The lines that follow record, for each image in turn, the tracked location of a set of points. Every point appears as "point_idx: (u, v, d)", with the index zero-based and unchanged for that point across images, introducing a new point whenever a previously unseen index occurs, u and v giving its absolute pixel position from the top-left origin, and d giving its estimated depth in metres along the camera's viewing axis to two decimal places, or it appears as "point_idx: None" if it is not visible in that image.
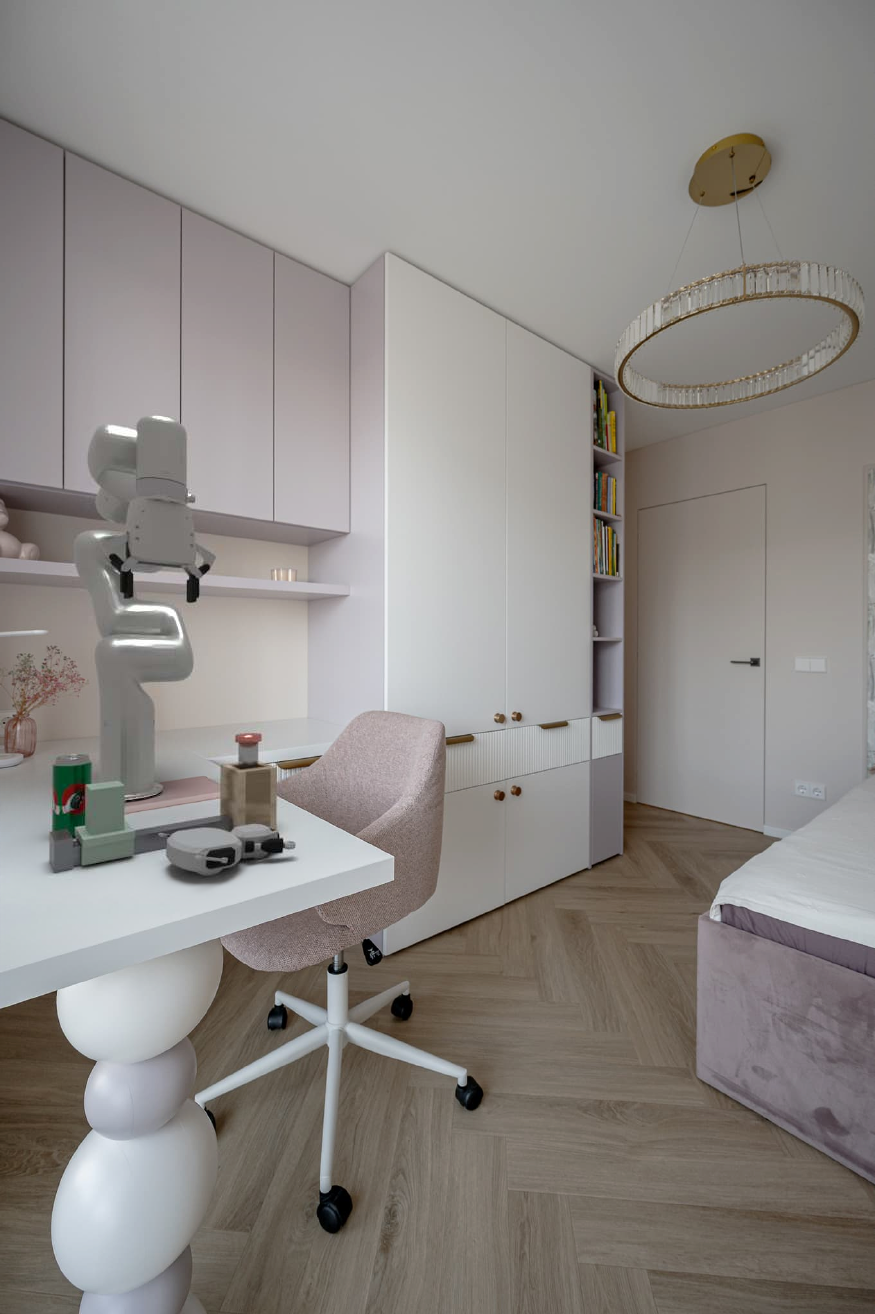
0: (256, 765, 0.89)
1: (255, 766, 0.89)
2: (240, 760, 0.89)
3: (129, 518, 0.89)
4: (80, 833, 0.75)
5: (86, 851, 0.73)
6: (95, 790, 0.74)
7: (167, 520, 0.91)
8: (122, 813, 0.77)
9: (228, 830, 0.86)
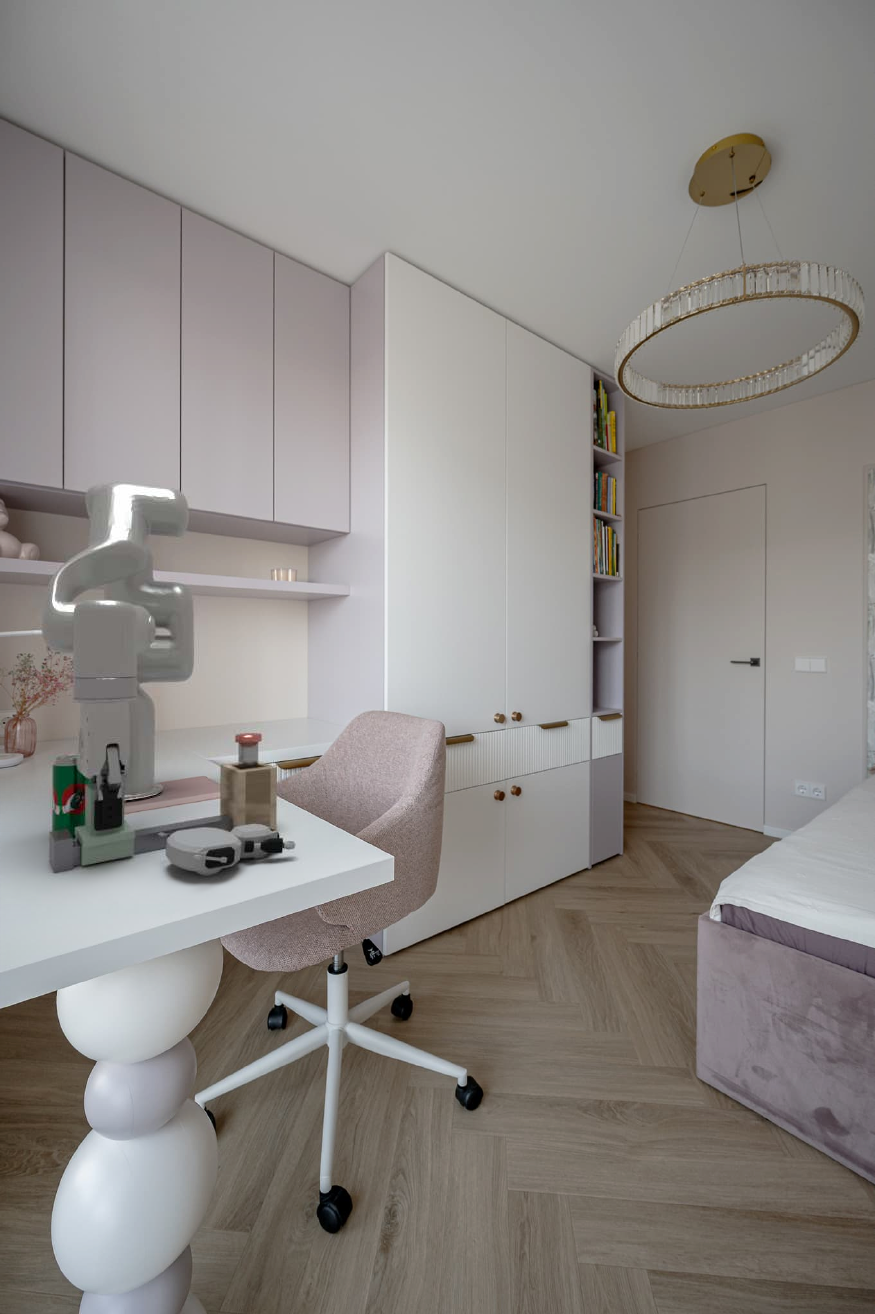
0: (256, 765, 0.89)
1: (255, 766, 0.89)
2: (240, 760, 0.89)
3: (117, 727, 0.74)
4: (80, 833, 0.75)
5: (86, 851, 0.73)
6: (95, 790, 0.74)
7: None
8: (122, 813, 0.77)
9: (228, 830, 0.86)
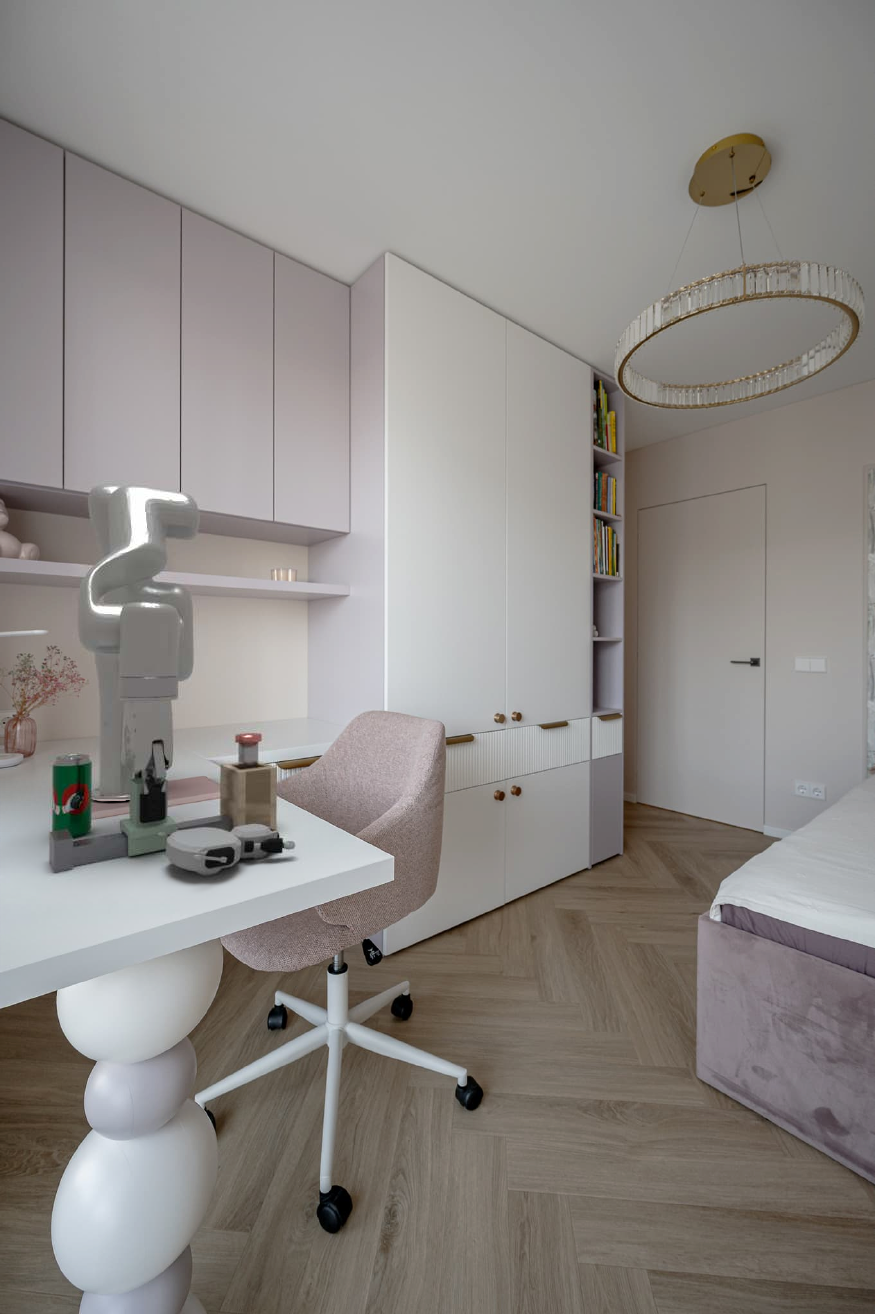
0: (256, 765, 0.89)
1: (255, 766, 0.89)
2: (240, 760, 0.89)
3: (161, 724, 0.77)
4: (126, 825, 0.78)
5: (133, 842, 0.77)
6: (141, 784, 0.78)
7: None
8: None
9: (228, 830, 0.86)
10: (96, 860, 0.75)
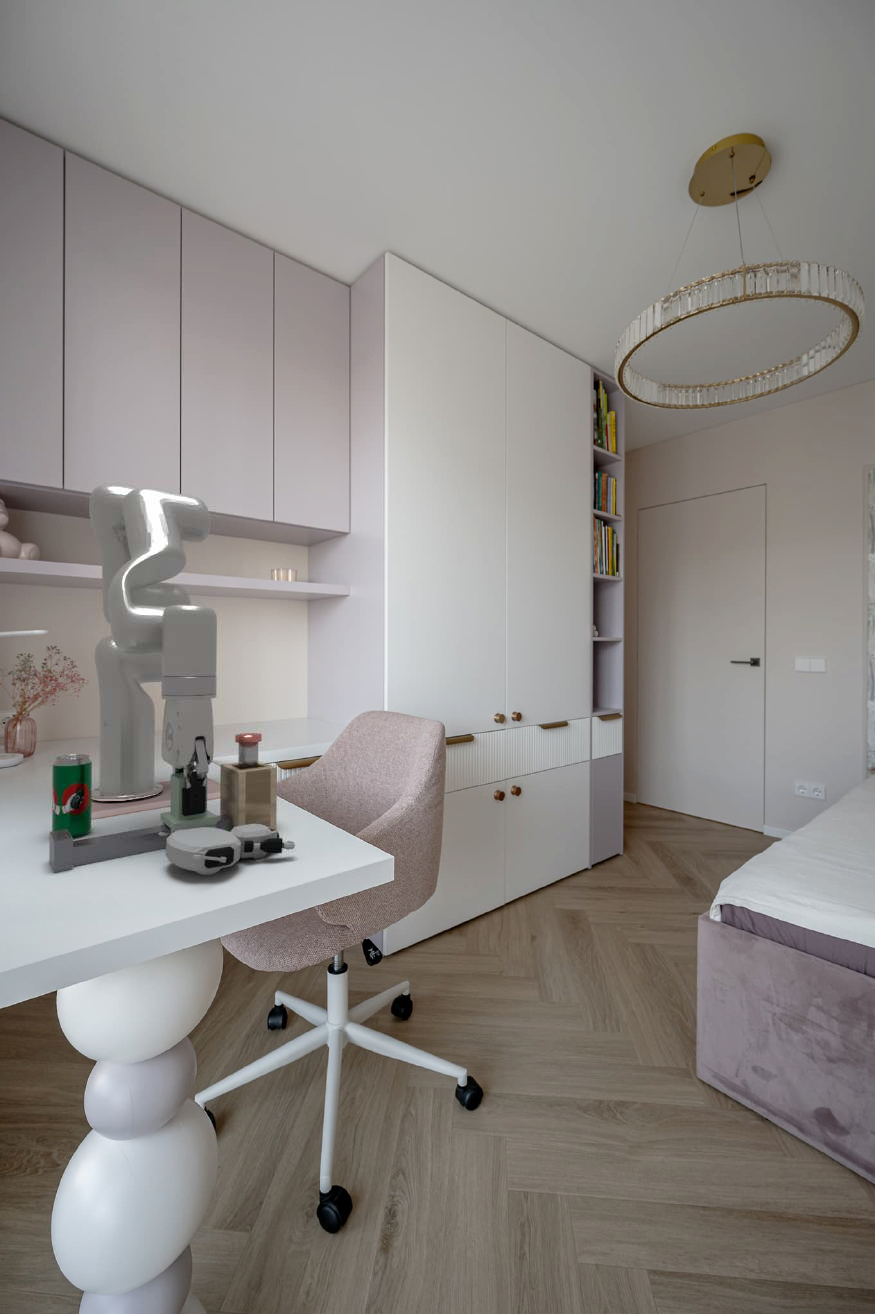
0: (256, 765, 0.89)
1: (255, 766, 0.89)
2: (240, 760, 0.89)
3: (203, 721, 0.81)
4: (168, 818, 0.82)
5: None
6: (182, 779, 0.82)
7: None
8: None
9: (228, 830, 0.86)
10: (96, 860, 0.75)
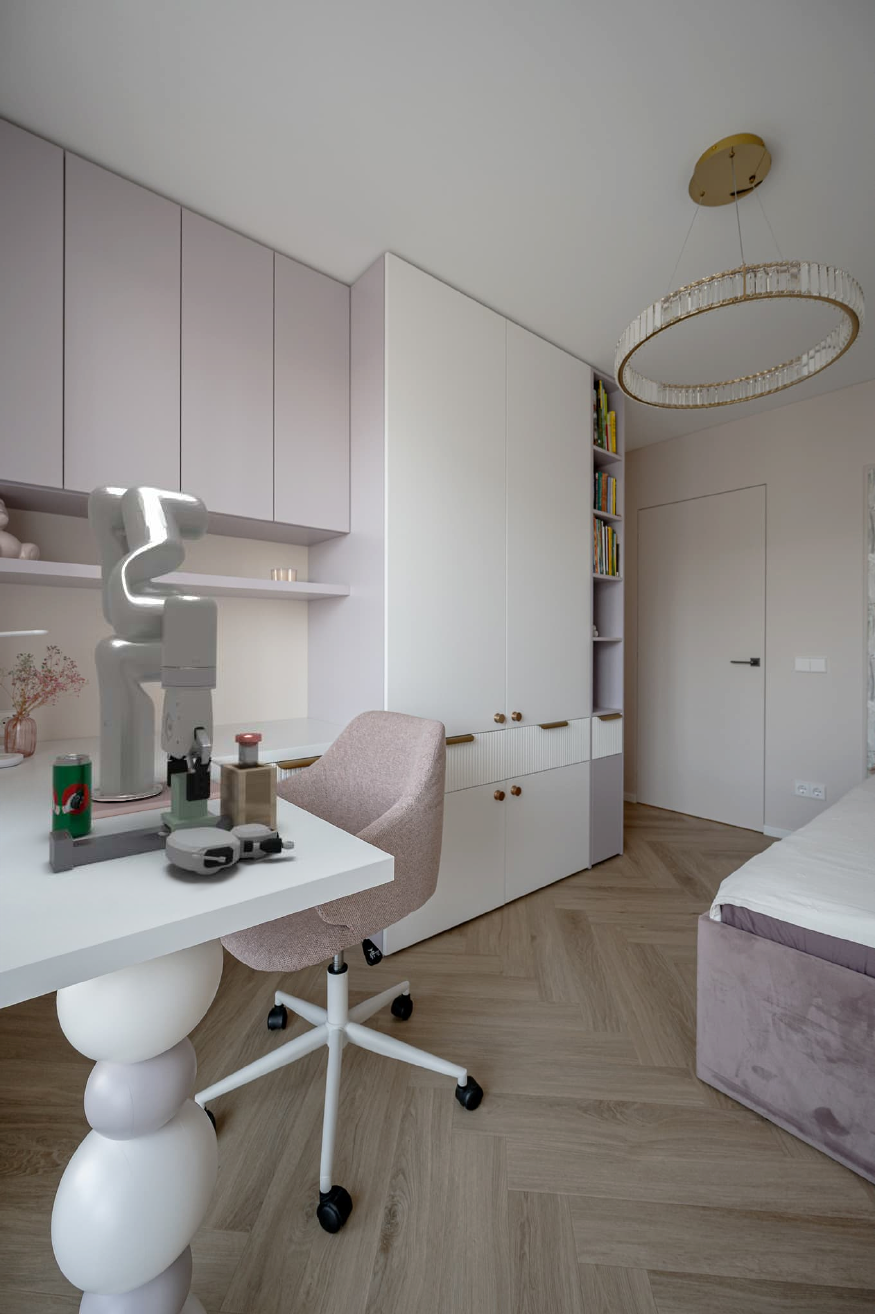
0: (256, 765, 0.89)
1: (255, 766, 0.89)
2: (240, 760, 0.89)
3: (203, 712, 0.81)
4: (168, 818, 0.82)
5: None
6: (183, 779, 0.82)
7: None
8: (205, 800, 0.84)
9: (228, 830, 0.86)
10: (96, 860, 0.75)
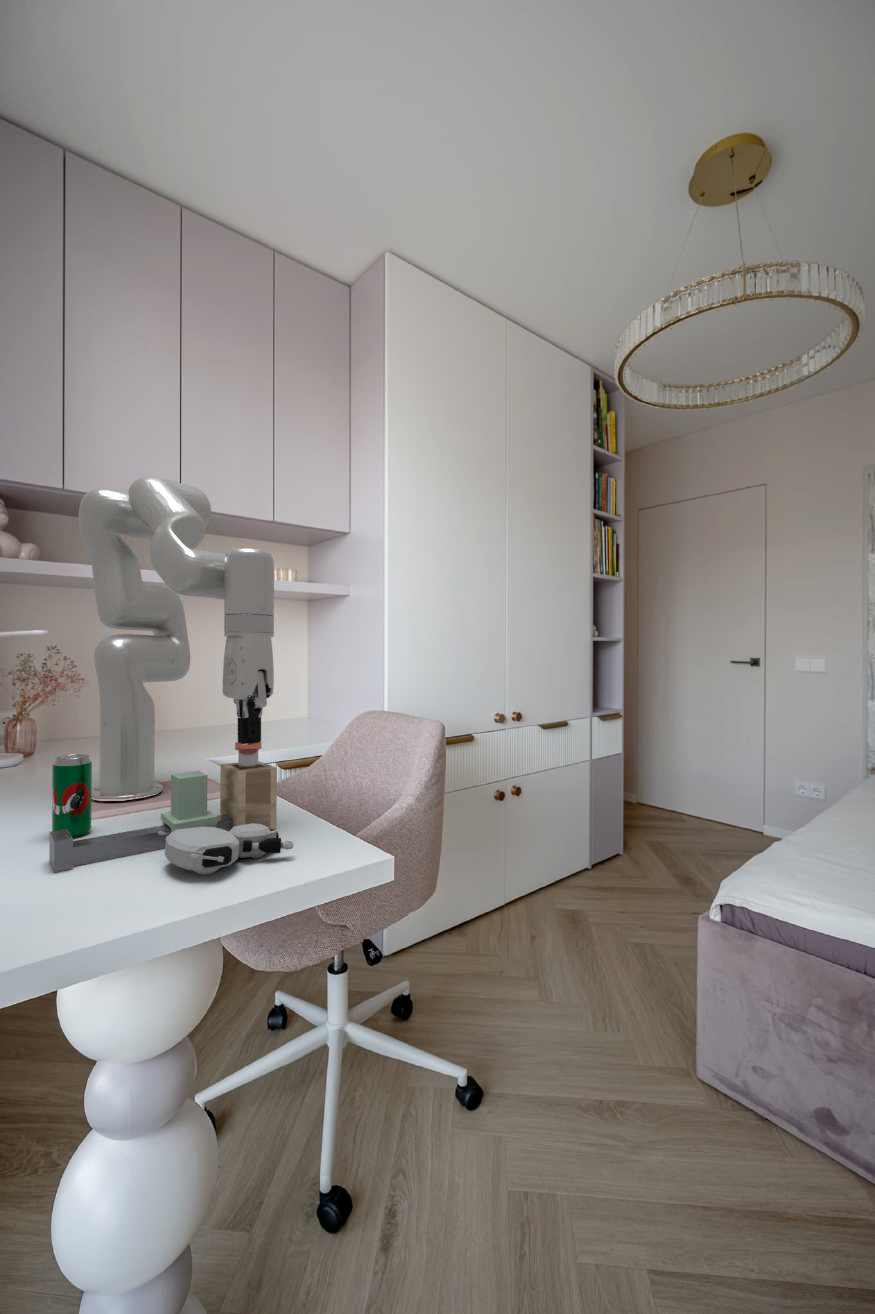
0: None
1: None
2: (240, 768, 0.89)
3: (265, 655, 0.86)
4: (168, 818, 0.82)
5: None
6: (183, 779, 0.82)
7: None
8: (205, 800, 0.84)
9: (228, 830, 0.86)
10: (96, 860, 0.75)
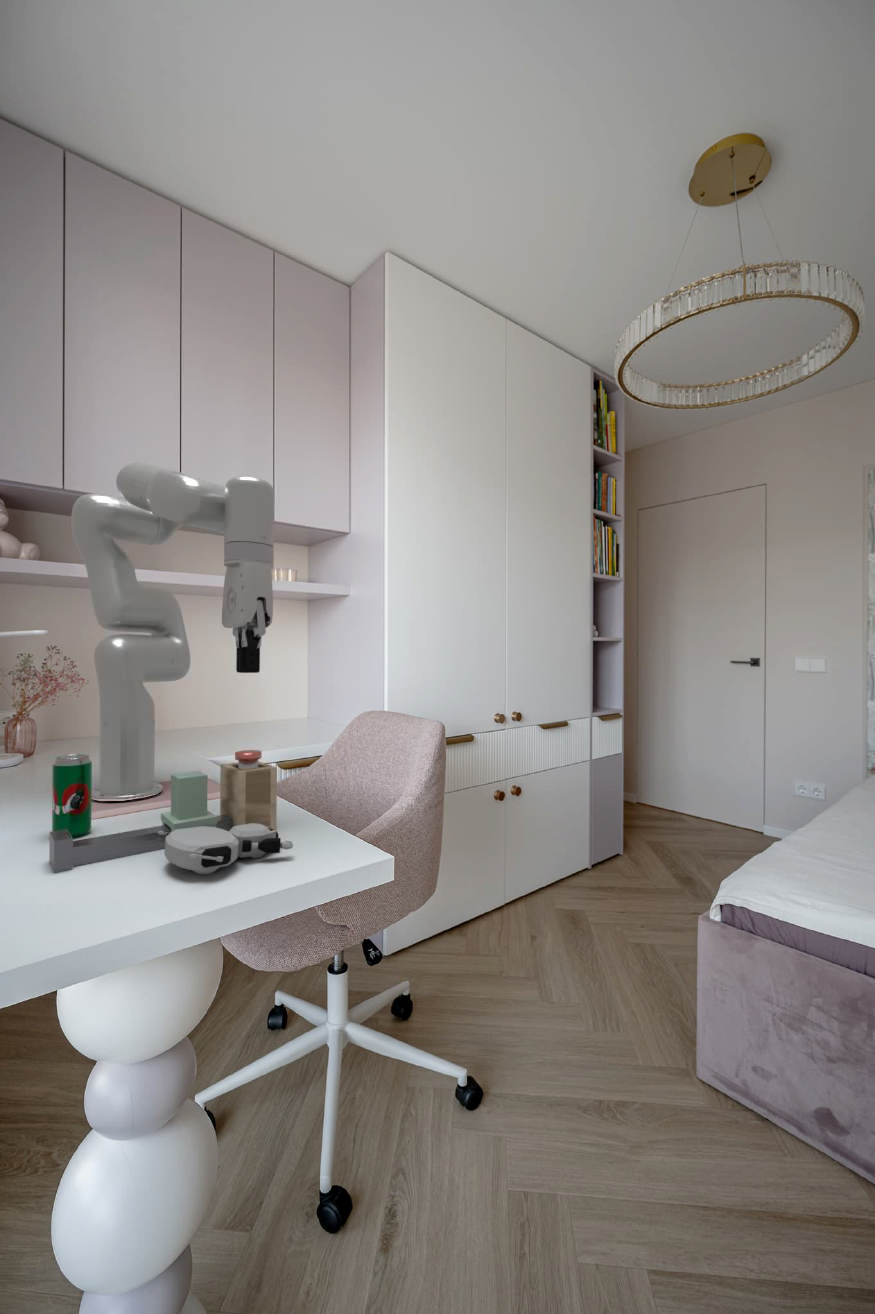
0: None
1: None
2: None
3: (264, 584, 0.87)
4: (168, 818, 0.82)
5: None
6: (183, 779, 0.82)
7: None
8: (205, 800, 0.84)
9: (228, 830, 0.86)
10: (96, 860, 0.75)
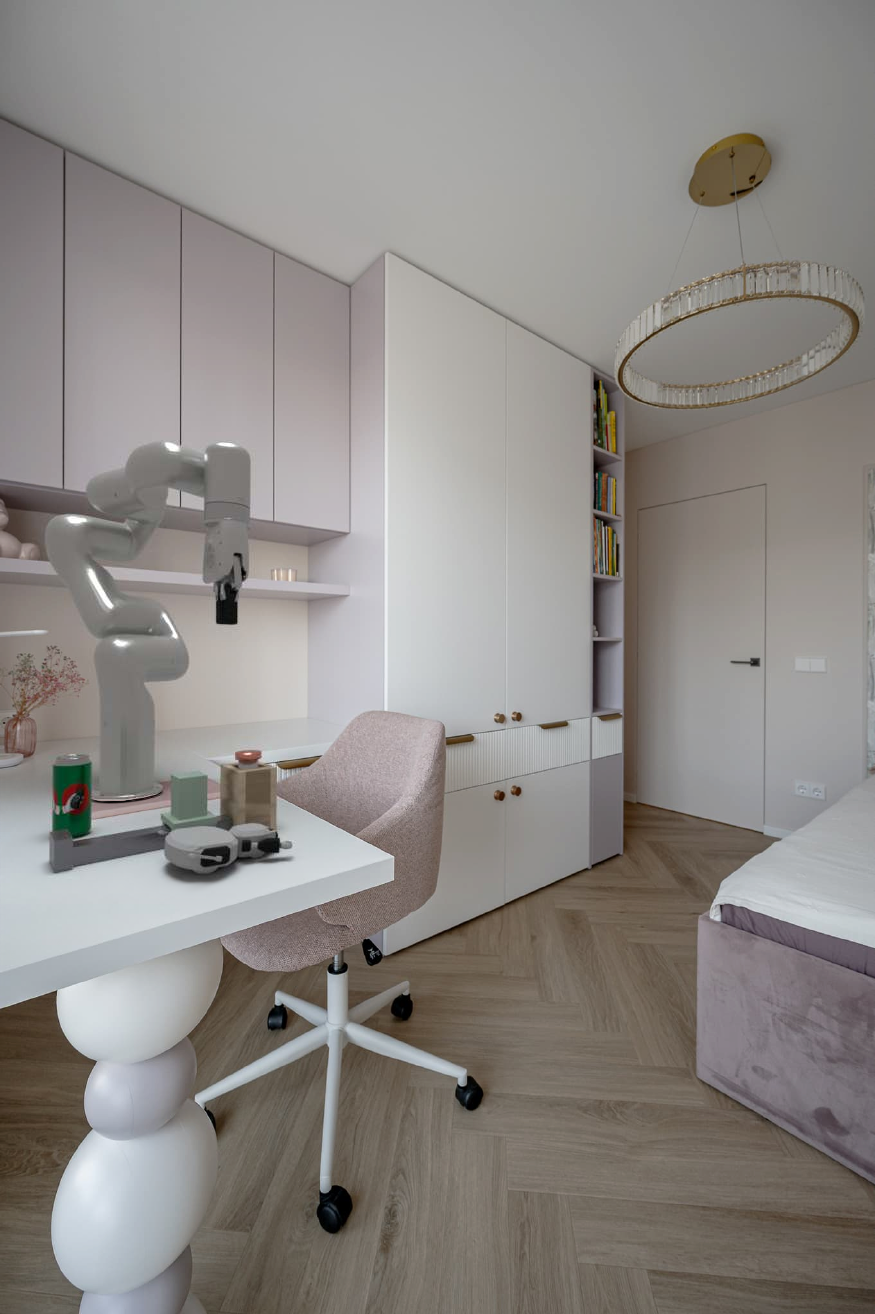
0: None
1: None
2: None
3: (240, 540, 0.94)
4: (168, 818, 0.82)
5: None
6: (183, 779, 0.82)
7: None
8: (205, 800, 0.84)
9: (228, 830, 0.86)
10: (96, 860, 0.75)
